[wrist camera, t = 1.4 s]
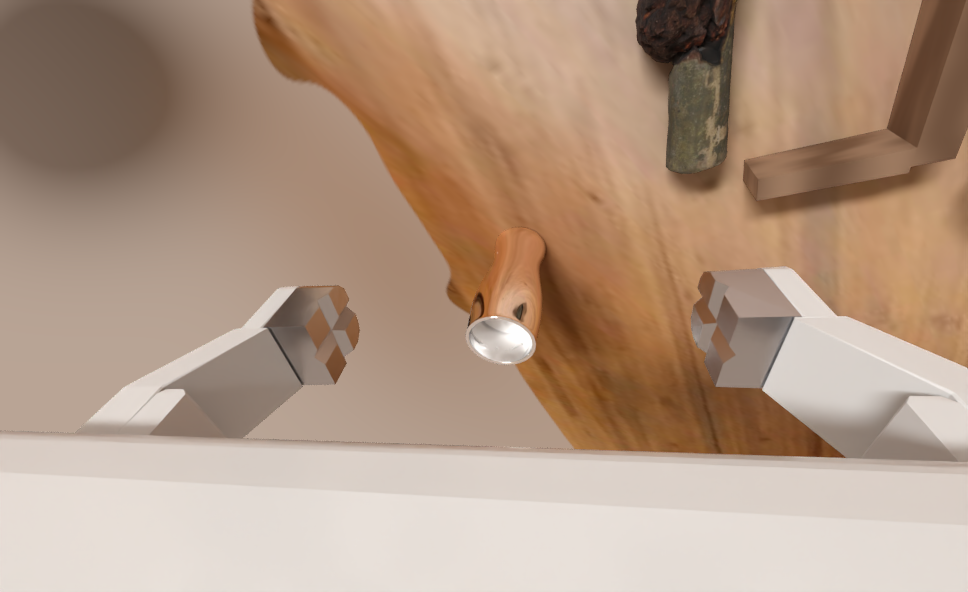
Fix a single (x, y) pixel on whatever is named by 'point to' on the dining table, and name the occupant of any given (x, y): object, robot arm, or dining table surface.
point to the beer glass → (509, 300)
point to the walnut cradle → (912, 126)
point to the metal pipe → (692, 75)
